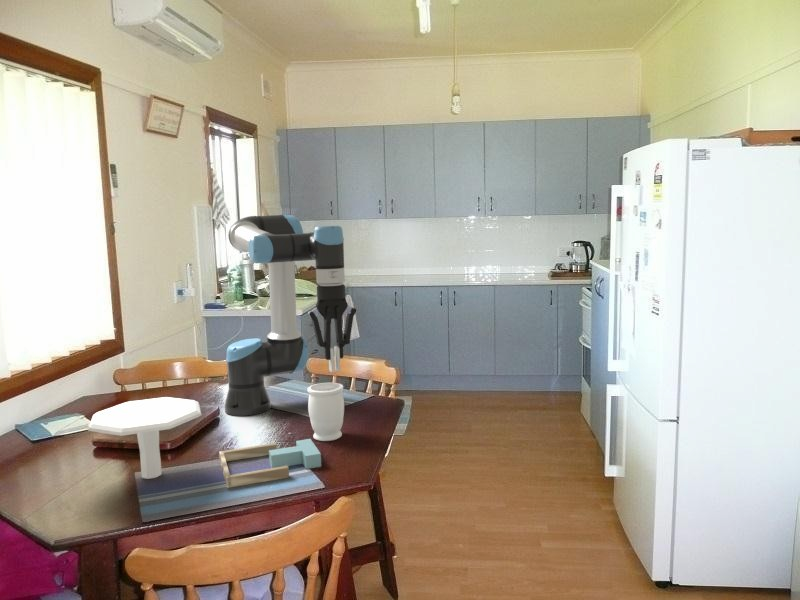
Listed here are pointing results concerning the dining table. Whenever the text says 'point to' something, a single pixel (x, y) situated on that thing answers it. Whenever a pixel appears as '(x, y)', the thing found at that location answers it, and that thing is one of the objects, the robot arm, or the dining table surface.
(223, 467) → the dock
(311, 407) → the jar
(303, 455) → the t block
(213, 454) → the dining table surface
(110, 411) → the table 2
